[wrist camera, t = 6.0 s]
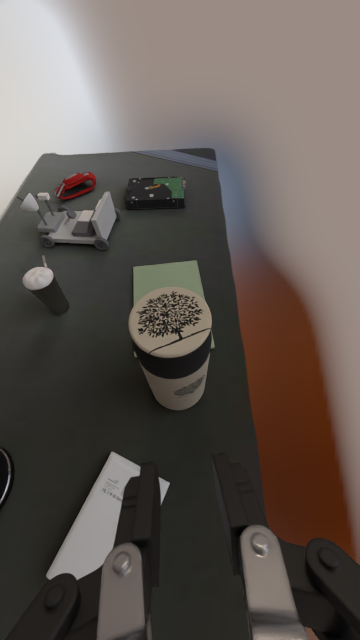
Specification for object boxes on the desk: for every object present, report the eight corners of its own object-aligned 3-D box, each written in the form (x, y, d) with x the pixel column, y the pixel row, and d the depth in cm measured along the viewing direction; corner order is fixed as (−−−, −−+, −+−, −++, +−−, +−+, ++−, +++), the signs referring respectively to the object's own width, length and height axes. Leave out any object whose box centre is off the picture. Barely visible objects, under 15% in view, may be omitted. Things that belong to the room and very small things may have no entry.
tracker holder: (60, 176, 69) (92, 164, 68) (70, 193, 72) (100, 181, 71) (46, 190, 61) (82, 176, 59) (57, 207, 64) (92, 194, 62)
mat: (214, 348, 40) (214, 347, 40) (134, 358, 40) (134, 356, 39) (196, 262, 51) (196, 260, 50) (133, 268, 50) (133, 267, 50)
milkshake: (79, 297, 47) (55, 258, 38) (64, 320, 44) (35, 283, 36) (59, 292, 48) (31, 253, 39) (43, 314, 45) (9, 277, 37)
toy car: (4, 206, 47) (31, 174, 53) (32, 247, 55) (52, 215, 61) (94, 209, 45) (111, 176, 52) (109, 251, 54) (122, 218, 60)
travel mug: (147, 366, 39) (119, 294, 24) (195, 353, 40) (199, 276, 25) (158, 417, 34) (132, 370, 19) (211, 402, 35) (227, 345, 20)
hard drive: (51, 571, 26) (114, 452, 32) (116, 620, 24) (170, 482, 30) (44, 576, 25) (111, 450, 31) (111, 628, 23) (169, 483, 29)
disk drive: (127, 211, 62) (186, 208, 61) (124, 200, 59) (185, 197, 59) (130, 188, 67) (185, 185, 67) (128, 178, 65) (184, 174, 64)
